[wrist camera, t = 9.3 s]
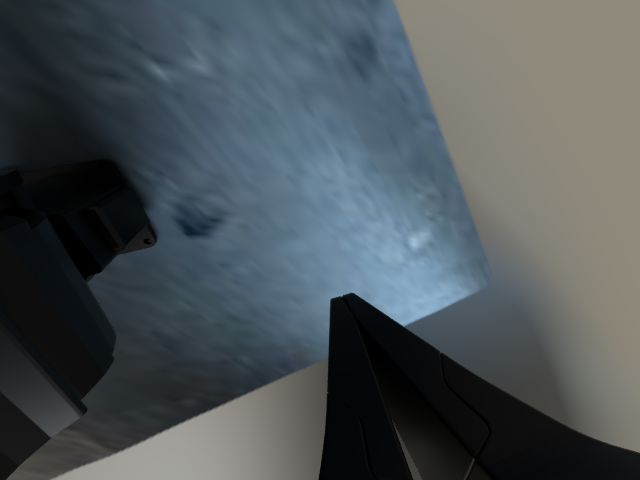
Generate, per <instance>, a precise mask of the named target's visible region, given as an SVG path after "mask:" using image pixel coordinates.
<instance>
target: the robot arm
mask: <svg viewBox="0 0 640 480" xmlns="http://www.w3.org/2000/svg"><path fill="white" fill-rule="evenodd" d="M102 164H105V165H107V166H108V168H109V170H105V169H104V168H103V167H102ZM148 223H149V219H148V217H147V215H146V213H145V211H144V210H143V208H142V206H141V204H140V202H139V201H138V199H137V197H136V195H135V193H134V192H133V190H132V189H130V188H129V187H128V186H127V185H126V183H125V181H124V179H123V178H122V176H121V174H120V172H119V171H118V169H117V167H116V165H115V164H114V163H113V162H112V161H111V160H108V159H98V160H92V161H87V162H81V163H76V164H70V165H65V166H59V167H54V168H48V169H42V170H37V171H31V172H26V173H20V174H19V172H18V171H17V169H1V170H0V480H6V479H7V478H8V477H9V476H10V475H11V474H12V473H13V472H14V471H15V470H16V469H17V467H18V466H19V465H21V464H22V463H23V462H24V461H25V460H26V459H27V458H29V457H30V456H31V455H32V454H33V453H34V452H36V451H37V450H38V449H39V448H40V447H41V446H43V445H44V444H45V443H46V442H47V441H48V440H49V439H51V438H52V437H53V436H55V435H56V434H58V433H59V432H60V431H62V430H63V429H65V428H66V427H68V426H69V425H70V424H72V423H73V422H75V421H76V420H78V419H79V418H81V417H82V416H83V415H84V414H85V413H86V412H87V407H86V406H85V405H84V404H83V402H82V401H81V400H82V399H83V398H84V397H85V396H86V394H87V393H88V392H89V391H90V390H91V389H92V388H93V387H94V386H95V385H96V384H97V383H98V381H99V380H100V379H101V378H102V377H103V376H104V375H105V373H106V372H107V370H108V369H109V367H110V366H111V364H112V363H113V361H114V357H113V355H112V353H113V351H114V346H115V341H116V334H115V331H114V329H113V327H112V325H111V323H110V322H109V320H108V318H107V317H106V315H105V313H104V312H103V310H102V308H101V306H100V305H99V303H98V301H97V300H96V298H95V296H94V295H93V293H92V291H91V290H90V288H89V286H88V284H87V283H88V282H89V281H90V280H91V279H92V277H93V276H94V275H95V274H98V273H100V272H102V271H103V270H104V269H105V267H106V266H107V265H108V264H109V263H110V262H111V261H112V260H113V259H114V258H115V257H116V256H117V255H120V254H124V253H128V252H132V251H137V250H141V249H145V248H149V247H152V246H154V245H155V243H156V242H157V238H156V236H155V234H154V233H153V231H152V229H151V227H150V225H149V224H148ZM146 239H150V240H151V242H148V241H146ZM327 392H328V394H327V411H326V425H325V436H324V444H323V453H322V460H321V467H320V473H319V480H413V478H412V475H411V472H410V470H409V467H408V464H407V461H406V458H405V456H404V453H403V451H402V447H401V444H400V442H399V439H398V436H397V433H396V430H395V428H394V425H395V427H396V429H397V431H398V433H399V435H400V437H401V439H402V441H403V442H404V444H405V447H406V448H407V450H408V452H409V454H410V456H411V458H412V460H413V462H414V464H415V466H416V468H417V470H418V472H419V474H420V476H421V478H422V480H640V453H638V452H635V451H631V450H628V449H624V448H621V447H617V446H614V445H611V444H608V443H605V442H602V441H600V440H597V439H594V438H592V437H589V436H587V435H585V434H582V433H580V432H578V431H576V430H574V429H572V428H570V427H568V426H566V425H564V424H562V423H560V422H559V421H557V420H555V419H553V418H551V417H550V416H548V415H546V414H544V413H542V412H541V411H539V410H537V409H535V408H534V407H532V406H530V405H528V404H526V403H525V402H523V401H521V400H519V399H518V398H516V397H514V396H512V395H510V394H509V393H506V392H505V391H503V390H502V389H500V388H498V387H496V386H494V385H493V384H491V383H490V382H488V381H486V380H484V379H483V378H481V377H479V376H478V375H476V374H474V373H473V372H471V371H470V370H468V369H466V368H465V367H463V366H462V365H460V364H459V363H457V362H455V361H454V360H452V359H451V358H450V357H448V356H447V355H445V354H444V353H441V354H440V351H439V350H438V349H436V348H435V347H433V346H432V345H430V344H429V343H427V342H426V341H424V340H423V339H421V338H420V337H418V336H417V335H415V334H414V333H412V332H411V331H409V330H408V329H406V328H405V327H403V326H402V325H400V324H399V323H397V322H396V321H394V320H393V319H391V318H390V317H389V316H387V315H386V314H384V313H383V312H381V311H380V310H378V309H377V308H375V307H374V306H372V305H371V304H369V303H368V302H366V301H365V300H363V299H362V298H360V297H359V296H357V295H356V294H354V293H349V294H346V295H343V296H342V297H341V296H339V297H336V298H332V299H331V301H330V328H329V357H328V386H327ZM392 421H393V422H392ZM393 423H394V425H393Z"/></svg>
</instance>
